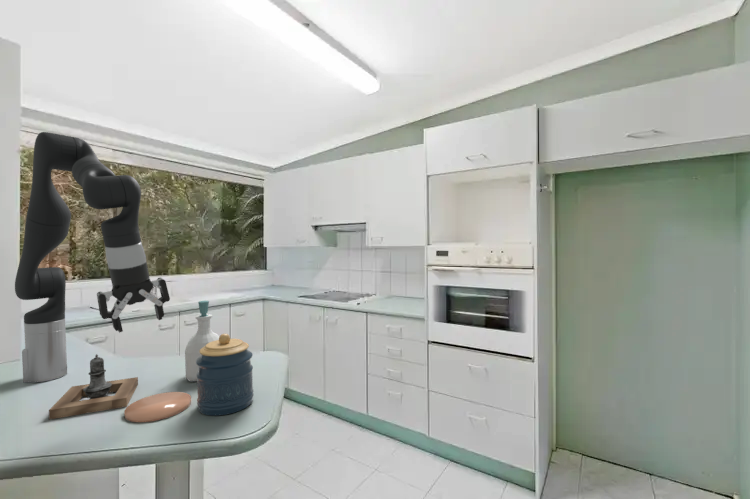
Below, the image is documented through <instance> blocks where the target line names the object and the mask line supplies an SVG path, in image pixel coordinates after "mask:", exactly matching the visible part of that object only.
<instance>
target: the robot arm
mask: <svg viewBox="0 0 750 499" xmlns="http://www.w3.org/2000/svg"><path fill="white" fill-rule="evenodd" d="M34 140H35V141H34V147H33V158H32V159H33V160H32V161H33V162H32V179H31V182H32V183H31V188H30V190H31V191H30V196H29V202H28V207H27V212H26V218H25V227H24V236H23V243H22V244H23V246H22V250H21V251H22V252H21V256H20V260H19V263H18V268H17V271H16V275H15V280H14V293H15V296H16V297H17V298H18V299H19V300H23V301H29V300H30V301H31V300H33V301H34V300H41V299H47V301H46V302H45V303H43V305H41V306H39V307H37V308H35V309H32V310H30V311H28V312H26V313H25V314H24V315H23V328H24V331H23V332H24V349H22V350H21V356H22V357H21V358H22V359H21V360H22V382H23V383H42V382H47V381H52V380H56V379H59V378H61V377H64V376H65V375H67V374H68V363H67V362H68V361H67V360H68V359H67V358H68V357H67V334H66V333H67V332H66V288H67V287H66V282H67V281H66V274H65V272H64V270H63V269H62V268H61V267H57V266H54V267H51V266H50V267H39V266H40V264H41V263H42V261H43V260H44V259H45V258H46V257H47V256H49V254H50V253H52V251H54V250H55V249H56V248H57V247H58V246H60V244H62V243H63V242H64V241H65V240H66V238H67V236H68V235H69V231H70V226H71V221H72V220H71V219H72V213H71V211H70V208H69V206H68V204H67V203H66V202H65V201H64V199H63V198H62V196H61V195H60V193H59V191H58V190H57V189H56V187H55V185H54V182H53V180H52V171H53V170H56V171H65V172H71V175H72V177H73V179H74V181H75V182H76V183H77V185H79V186H80V187H81V188H82V196H83V199H84V201H85V204H87V206H89V207H91V208H92V209H95V210H109V209H118V208H121V211H120V213H119V214H118V215H117V216H113V217H109V218H108V219H105V220H104V221H101V224H100V231H101V234H102V238H103V243H104V248H105V250H104V251H105V259H106V262H107V267H108V272H109V276H110V280H111V286H112V288H111V290H110V291H104V292H103V291H98V292H96V298H97V299H96V300H97V304H98V310H99V315H100V317H101V318H102V320H106V319H111V324H112V326H113V327H112V328H113V329H114V330H115V331H116V332H118V333H119V334H120V333H122V332H124V330H123V326H122V321H121V317H120V314H121V313H122V311H124V310H125V307H126V306H127V305H129V306H131V305H134V304H136V303H143V302H145V300H149V301H150V302H151V303H153V304H154V311H155V315H156V319H157V320H158V321H161V320H163V317H164V316H165V312H164V304H165V303H167V302H169V301H170V299H171V297H170V294H169V290H168V285H167V282H166V280H165V279H164V278H163V277H157V279H155V280H151V278H150V274H149V268H148V262H147V256H146V252H145V249H144V247H143V242H142V240H141V238H142V237H141V232H140V227H139V215H140V214H139V213H140V205H141V199H142V190H141V186H140V184H139V182H138V180H136V178H134V177H133V176H131V175H129V174H121V175H120V174H119V175H116V174H115V173H114V172H113V171H112V170H111V169H110V168H109V167H108V166H107V165H105V164H103V163H102V162H101V161H100V159H99V157H98V156H97V154H96V153H95V151H94V150H93V148H92V146H91V145H90V144H89V142H87V141H85V139H82V138H79V137H75V136H71V135H66V134H59V133H54V132H47V131H41V132H39V133H38V134H37V136H36V138H35V139H34ZM154 286H155V287H156V288H157V289H159V292H160V297H157V296H155V295H154V294H152V293H151V292H152V290H153V288H154ZM112 297H114V298H116V300H115V302H114V304H113V307H112V309H111V310H110V311H109V310H108V304H107V303H108V302H109V301H110V299H111V298H112Z"/></svg>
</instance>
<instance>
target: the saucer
mask: <svg viewBox="0 0 750 499" xmlns="http://www.w3.org/2000/svg"><path fill="white" fill-rule="evenodd" d="M190 406H192V396H191V395H190V394H189V393H186V392H182V391H168V392H161V393H156V394H152V395H148V396H146V397H142V398H140V399H137V400H136V401H134V402H132V403H131V404H130V403H129V405H127V407H126V408H125V410H124V419H125V420H127V421H129V422H132V423H150V422H156V421H160V420H165V419H168V418H171V417H174V416H177V415H178V414H180V413H182V412H184V411H186V410H187V409H188V408H189V407H190Z"/></svg>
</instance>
